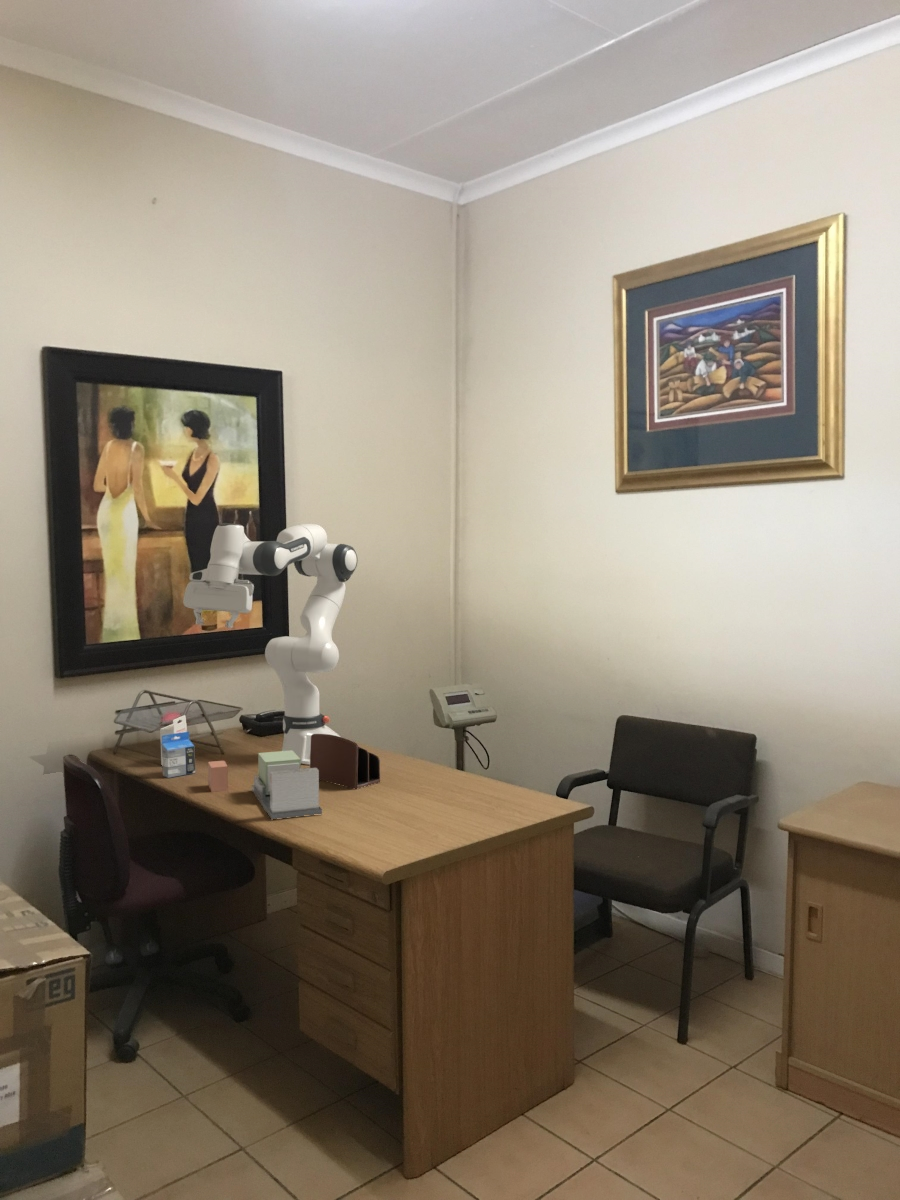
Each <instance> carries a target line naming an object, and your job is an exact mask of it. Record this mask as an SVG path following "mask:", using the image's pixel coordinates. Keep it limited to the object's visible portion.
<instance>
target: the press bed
mask: <svg viewBox="0 0 900 1200" xmlns="http://www.w3.org/2000/svg"><path fill="white" fill-rule="evenodd" d="M253 781H254V783H253V785H251V791H252V793H253V792H254V793H253V795H254V794H255V795H256V796H255V795H254V796H255V797H257V798H256V799H257V801H258V800H259V801H258V802H259V804H260V803H261V804H260V805H261V807H262V806H263V807H262V808H263V810H264V809H265V810H264V812H265V813H266V812H267V813H268V815H269V816H270V818H271V819H277V818H287V817H296V816H304V815H314V814H322V813H323V812H322V811H323V810H322V808H321V807H320V792H319V791H320V782H319V781H320V780H319V770H318V769H317V768H310V767H307V768H301V769H294V770H283V771H272V772H270V795H266V788H265V786H264V784H263V783H262V782H261V780H260V779H259V777H258V775H256V774H255V775H253ZM267 813H266V814H267ZM268 815H267V816H268ZM322 815H323V814H322ZM269 816H268V817H269ZM270 818H269V819H270ZM271 819H270V820H271Z"/></svg>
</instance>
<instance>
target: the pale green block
mask: <svg viewBox="0 0 900 1200" xmlns="http://www.w3.org/2000/svg"><path fill="white" fill-rule="evenodd" d="M257 758H258V760H257V762H258V763H257V764H258V767H257V768H258V769H257V770H258V771H257V773H258V775H257V776H258V777H259V779H260V780H261V782H262V783H263V784H264V786H265V788H266V795H270V772H272V771H283V770H294V769H302V767H301V765H302V764H301V759H300V758H299V757H298V756H297V755H296V754H295V753H294V752H293V751H292V750H290V751H282V750H280V751H268V752H267V751H266V752H258V753H257Z"/></svg>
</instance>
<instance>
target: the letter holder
mask: <svg viewBox="0 0 900 1200" xmlns="http://www.w3.org/2000/svg"><path fill="white" fill-rule="evenodd" d="M380 763H381V760H380V757H379V756H378V755H376V754H375V753H372V752H370V751H368V750H367V749H365V748H363V747H360V746H359V745H358V743H357V742H355V741H352V740H350V739H347V738H345V737H342V736H340V737H338V736H334V735H329V734H313V735H311V749H310V764H309V768H317V769H318V770H319V779H320V780H319V781H322V780H324V781H323V782H326V781H328V782H327V783H330V782H332V783H331V784H334V783H336V784H335V785H337V784H340V785H339V786H341V785H344V786H343V787H345V786H347V787H346V788H349V787H351V788H350V789H353V788H355V789H354V790H358V789H357V788H359V789H361V787H363V788H365V787H364V786H366V787H369V786H368V785H370V786H372V785H371V784H373V785H375V784H374V783H376V784H379V783H378V782H380V783H381V765H380Z"/></svg>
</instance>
